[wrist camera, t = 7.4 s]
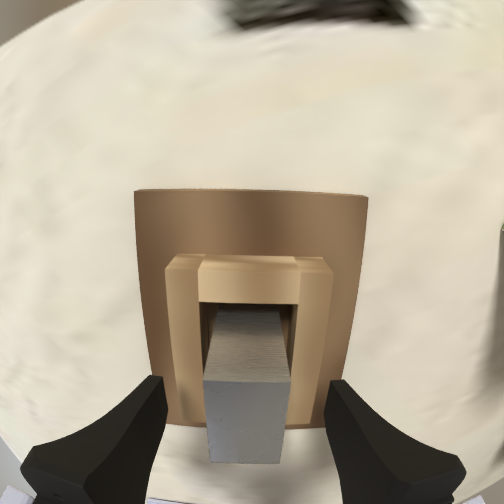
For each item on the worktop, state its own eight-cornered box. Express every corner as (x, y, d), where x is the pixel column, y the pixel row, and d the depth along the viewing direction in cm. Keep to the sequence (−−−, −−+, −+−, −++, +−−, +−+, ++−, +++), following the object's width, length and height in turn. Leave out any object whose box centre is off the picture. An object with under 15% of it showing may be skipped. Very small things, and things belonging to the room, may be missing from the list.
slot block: (165, 413, 21) (154, 447, 17) (140, 189, 16) (114, 197, 13) (326, 417, 21) (335, 451, 17) (362, 195, 16) (387, 203, 13)
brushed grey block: (222, 371, 18) (210, 461, 11) (220, 297, 17) (202, 379, 10) (271, 372, 18) (279, 463, 11) (276, 299, 17) (291, 382, 10)
